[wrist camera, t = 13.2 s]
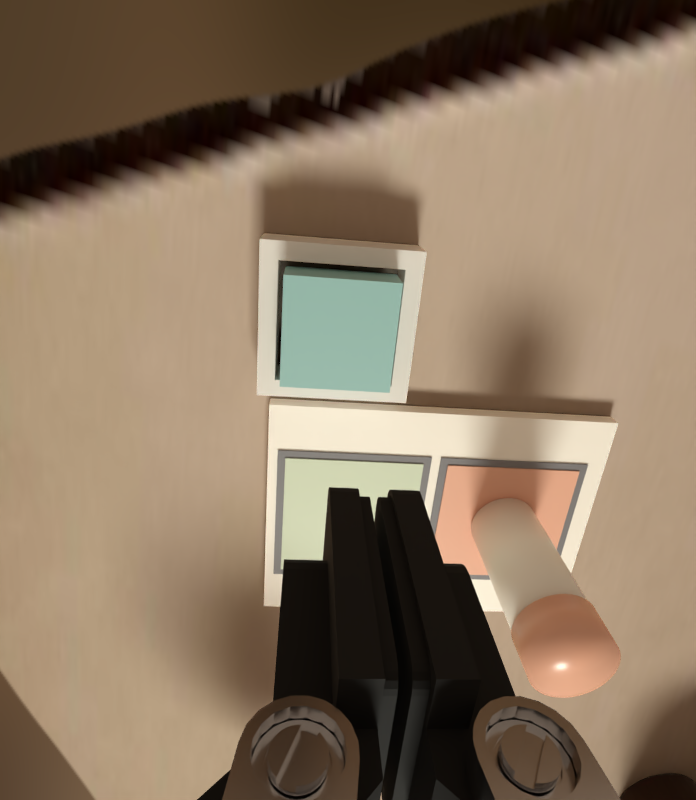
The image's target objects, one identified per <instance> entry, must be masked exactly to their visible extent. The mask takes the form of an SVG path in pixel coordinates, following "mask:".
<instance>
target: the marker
mask: <svg viewBox="0 0 696 800" xmlns="http://www.w3.org/2000/svg"><path fill="white" fill-rule="evenodd" d="M471 533H472V536H473V538H474V541H475V543H476V546H477V548H478V551H479V553H480V556H481V558H482V560H483V563H484V565H485V568H486V570H487V573H488V575H489V578H490V580H491V582H492V585H493V587H494V590H495V592H496V595H497V597H498V600H499V602H500V604H501V607H502V609H503V612H504V614H505V617H506V619H507V622H508V624H509V626H510V629H511V635H512V640H513V642H514V645H515V647H516V650H517V652H518V655H519V657H520V660H521V662H522V664H523V667H524V669H525V672H526V674H527V677H528V679H529V682H530V683H531V685H532V686H533V688H535V689H536V690H537V691H538V692H540V693H542V694H544V695H547V696H551V697H560V698H564V697H574V696H579V695H582V694H586V693H588V692H591V691H593V690H595V689H597V688H599V687H600V686H602V685H603V684H605V683H606V682H607V681H608V680H609V679H610V678H611V677H612V676H613V675H614V674H615V672H616V671H617V669H618V667H619V664H620V660H621V654H620V650H619V647H618V646H617V644H616V642H615V641H614V639H613V638H612V636H611V634H610V633H609V631H608V629H607V628H606V626H605V624H604V623H603V621H602V619H601V618H600V616H599V615H598V613H597V611H596V610H595V608H594V606H593V605H592V604H591V603H590V602H589V601H588V600H587V599H586V598H585V596H584V594H583V593H582V591H581V589H580V588H579V586H578V584H577V583H576V581H575V579H574V578H573V576H572V574H571V573H570V571H569V569H568V568H567V566H566V564H565V563H564V561H563V559H562V558H561V556H560V554H559V553H558V551H557V549H556V548H555V546H554V544H553V543H552V541H551V539H550V538H549V536H548V535H547V533H546V531H545V530H544V528H543V526H542V525H541V523H540V521H539V520H538V518H537V516H536V515H535V513H534V511H533V510H532V508H531V507H530V506H529V505H528V504H527V503H526V502H524V501H522V500H519V499H515V498H502V499H497V500H494V501H492V502H490V503H488V504H486V505H485V506H483V507H482V508H481V509H480V510H479V511H478V512H477V513H476V515H475V516H474V518H473V521H472V524H471Z"/></svg>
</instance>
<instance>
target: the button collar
mask: <svg viewBox="0 0 696 800" xmlns="http://www.w3.org/2000/svg"><path fill="white" fill-rule="evenodd" d="M426 255H427V252H426V251H425V250H424V249H423V248H421V247H420V246H419V245H408V244H395V243H383V242H370V241H357V240H345V239H332V238H320V237H307V236H294V235H282V234H269V233H264V234H263V235H262V236H261V238H260V241H259V300H258V359H257V395H265V396H284V397H302V398H320V399H339V400H357V401H375V402H394V403H406V399H407V392H408V385H409V378H410V371H411V363H412V356H413V349H414V342H415V334H416V327H417V320H418V313H419V305H420V298H421V291H422V284H423V276H424V269H425V262H426ZM281 260H284V261H297V262H310V263H323V264H337V265H350V266H363V267H377V268H390V269H398V277H399V278H400V280H401V281H402V282H403V289H402V297H401V305H400V313H399V321H398V329H397V337H396V345H395V353H394V362H393V370H392V378H391V386H390V393H383V392H365V391H347V390H329V389H311V388H293V387H280V365H278V339H279V308H280V278H281Z"/></svg>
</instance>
